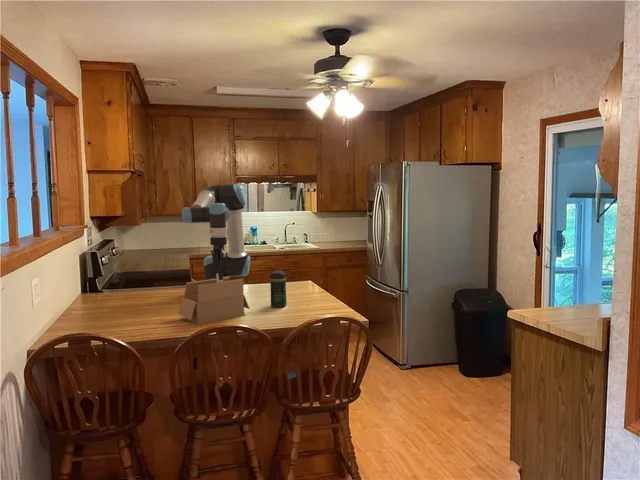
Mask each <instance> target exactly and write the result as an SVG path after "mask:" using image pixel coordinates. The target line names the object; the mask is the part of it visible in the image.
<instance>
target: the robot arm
mask: <svg viewBox="0 0 640 480" xmlns="http://www.w3.org/2000/svg"><path fill="white" fill-rule="evenodd" d="M246 205H247V195H246V191H245V187H244V185H242V184H236V183H233V184H231V183H227V184H214V185H213V184H212V185H209V186H207V187H205V188H202V190H200V191H199V193H198V194H197V198H196V200H195V201H194V202H193V204H191V206H190V207H189V206H187V207H183V208H182V209H181V219H182V222H183V223H185V224H198V223H199V224H200V223H203V224H204V223H209V230H208V231H209V236H210V237H209V242H210V246H213V247H212V250H210V253H211V255H208V256H205V257H204V258H203V276H204V278H203V280H210V279H217V282H223V278H224V277H246V276H248V275H249V273H250V267H251V266H250V265H251V256H250V255H248V252H247V251H246V250H245V241H244V240H245V239H244V229H243V213H242V211H243V210H244V209H245V206H246ZM227 239H228V240H227ZM227 241H228V242H227ZM227 243H228V252H225V246H226V245H227Z"/></svg>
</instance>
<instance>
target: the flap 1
mask: <svg viewBox="0 0 640 480" xmlns="http://www.w3.org/2000/svg"><path fill="white" fill-rule="evenodd" d="M230 280H231V276H227V277H224V278H223V282H224V281H230ZM210 283H217V279H210V280H205V279H203V280H196V281H190V282H186V283H185V289H184V292H183V293H184V294H183V296H184V297H190V296H197V295H198V285H203V284H210Z"/></svg>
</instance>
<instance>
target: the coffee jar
mask: <svg viewBox="0 0 640 480" xmlns="http://www.w3.org/2000/svg"><path fill="white" fill-rule="evenodd" d="M286 273H287V272H286V271H284V270H280V269H278V270H274V271H273V272H271V273H270V275H269V281H270V283H269V285H270V306H271V308H277V309H279V308H284V307H286V305H287V304H288V303H287V302H288V301H287V276H286V275H287V274H286Z"/></svg>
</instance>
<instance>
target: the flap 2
mask: <svg viewBox="0 0 640 480" xmlns="http://www.w3.org/2000/svg"><path fill="white" fill-rule="evenodd" d="M244 281H245V279H244V278H239V279H232V280H231V279H230V281H224V282H217V283H210V284H203V285H198V294H197V295H198V302H204V301H210V300H216V299H222V298H228V297H233V296H239V295H243V294H244V284H245V283H244Z"/></svg>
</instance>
